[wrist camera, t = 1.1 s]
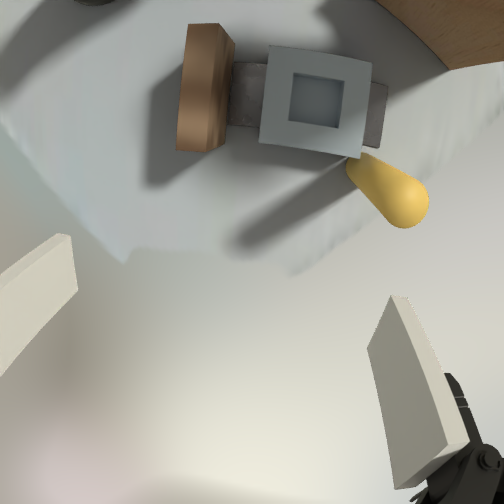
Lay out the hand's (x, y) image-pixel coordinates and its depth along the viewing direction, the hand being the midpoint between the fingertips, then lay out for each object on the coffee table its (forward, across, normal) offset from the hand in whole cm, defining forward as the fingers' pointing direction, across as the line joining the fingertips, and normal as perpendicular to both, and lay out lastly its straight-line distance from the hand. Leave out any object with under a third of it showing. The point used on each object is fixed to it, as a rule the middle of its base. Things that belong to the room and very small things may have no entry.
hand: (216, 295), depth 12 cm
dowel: (+28, +12, +2) cm, 30 cm away
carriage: (+28, +4, +9) cm, 30 cm away
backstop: (+28, -7, +8) cm, 30 cm away
